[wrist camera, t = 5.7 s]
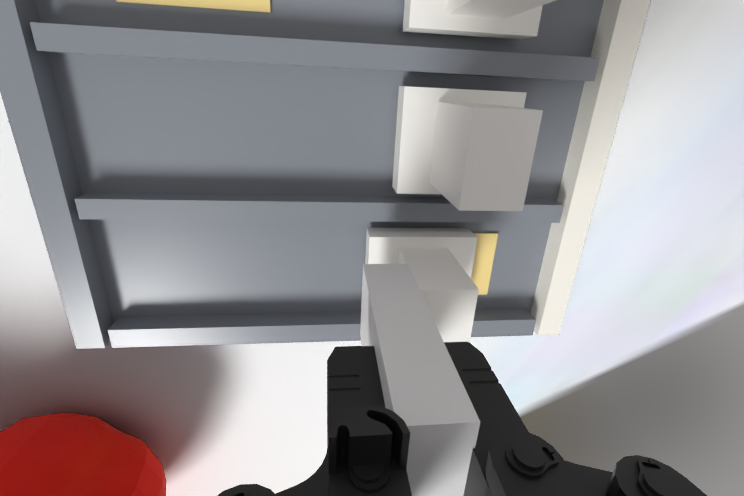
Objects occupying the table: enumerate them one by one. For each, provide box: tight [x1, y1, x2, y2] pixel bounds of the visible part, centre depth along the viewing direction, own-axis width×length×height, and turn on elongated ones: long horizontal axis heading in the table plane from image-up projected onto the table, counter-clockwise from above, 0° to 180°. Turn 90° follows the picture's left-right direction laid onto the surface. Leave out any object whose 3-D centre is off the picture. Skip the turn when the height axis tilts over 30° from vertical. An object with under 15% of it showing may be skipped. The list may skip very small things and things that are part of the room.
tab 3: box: [365, 228, 479, 343], centre depth 14 cm, size 4×3×4 cm
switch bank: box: [0, 0, 651, 349], centre depth 14 cm, size 20×16×2 cm
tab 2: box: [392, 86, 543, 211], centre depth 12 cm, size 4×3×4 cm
